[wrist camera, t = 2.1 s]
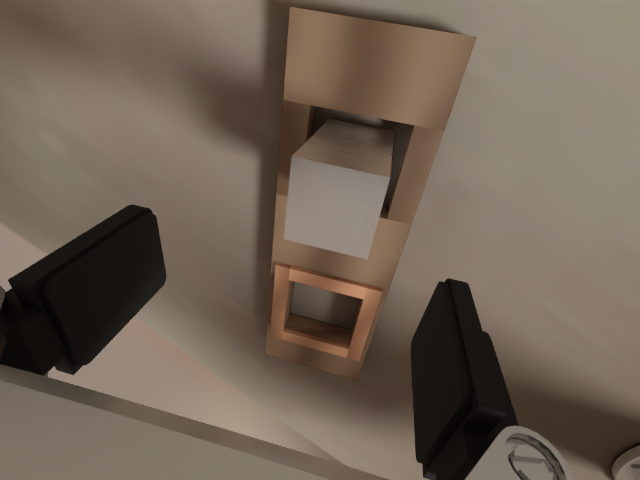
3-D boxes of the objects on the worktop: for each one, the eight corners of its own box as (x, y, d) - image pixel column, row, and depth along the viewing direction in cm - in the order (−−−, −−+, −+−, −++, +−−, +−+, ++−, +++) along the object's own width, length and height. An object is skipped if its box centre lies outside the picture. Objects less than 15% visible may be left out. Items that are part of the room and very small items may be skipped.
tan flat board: (469, 37, 18) (478, 36, 16) (359, 364, 34) (356, 384, 32) (299, 10, 19) (287, 5, 17) (271, 339, 35) (263, 357, 33)
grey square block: (394, 131, 21) (390, 177, 14) (378, 192, 24) (367, 259, 16) (329, 118, 22) (291, 156, 14) (320, 179, 24) (283, 239, 17)
